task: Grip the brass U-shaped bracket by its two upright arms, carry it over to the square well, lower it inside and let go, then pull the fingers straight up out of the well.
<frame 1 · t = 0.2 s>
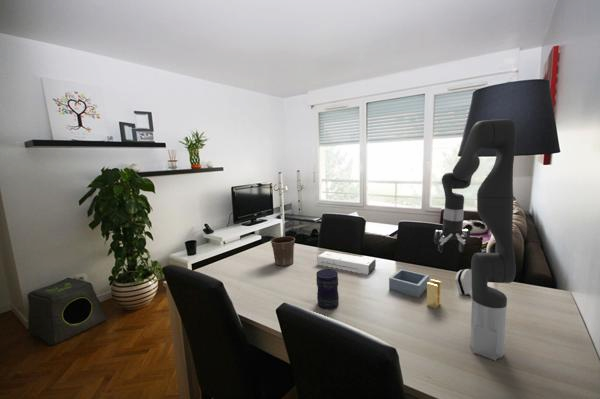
hand: (450, 251, 120), 22 cm above the table, tool pointing down, fingers open, 8 cm apart
laminator: (346, 267, 165), on the table
plant pot: (284, 263, 176), on the table
bracket: (433, 304, 117), on the table
storage jar: (328, 304, 122), on the table
well: (409, 288, 133), on the table
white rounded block: (466, 289, 130), on the table
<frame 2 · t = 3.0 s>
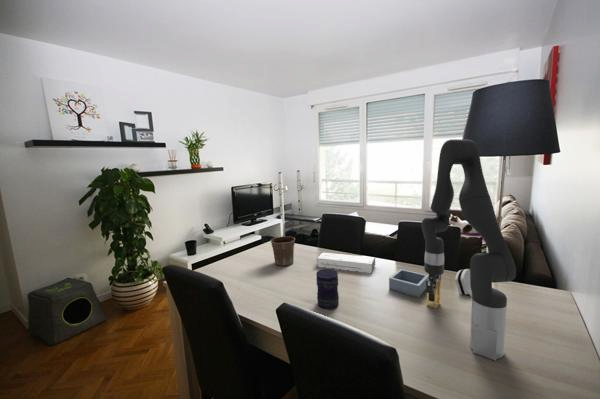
hand: (433, 298, 117), 3 cm above the table, tool pointing down, fingers closed on bracket, 5 cm apart
bracket: (433, 304, 117), on the table, touching gripper
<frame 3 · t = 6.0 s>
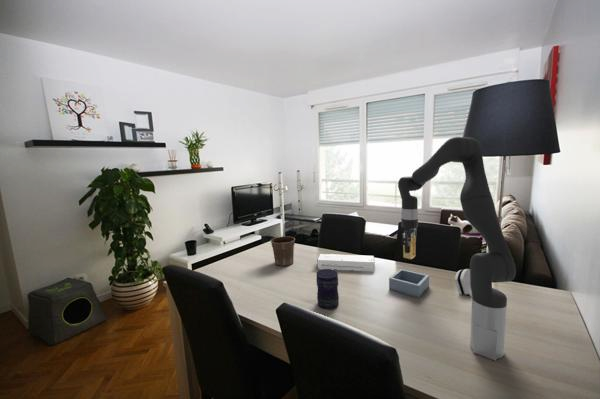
hand: (409, 251, 131), 19 cm above the table, tool pointing down, fingers closed on bracket, 5 cm apart
bracket: (409, 256, 131), point 16 cm above the table, touching gripper
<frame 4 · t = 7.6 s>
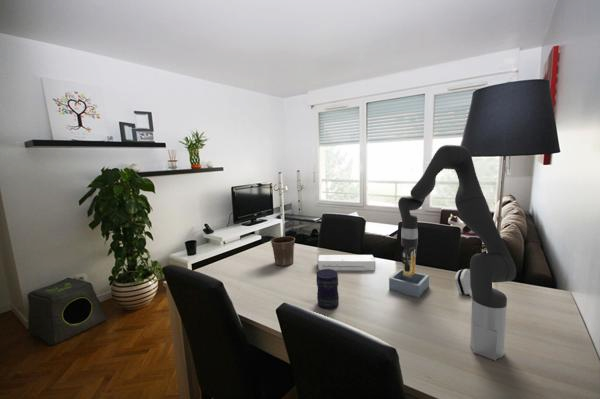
hand: (409, 269, 132), 10 cm above the table, tool pointing down, fingers closed on bracket, 5 cm apart
bracket: (409, 274, 132), point 7 cm above the table, touching gripper
when the fingers open (6 cm above the table, at t = 8.9 s): bracket drops 2 cm, resting on well.
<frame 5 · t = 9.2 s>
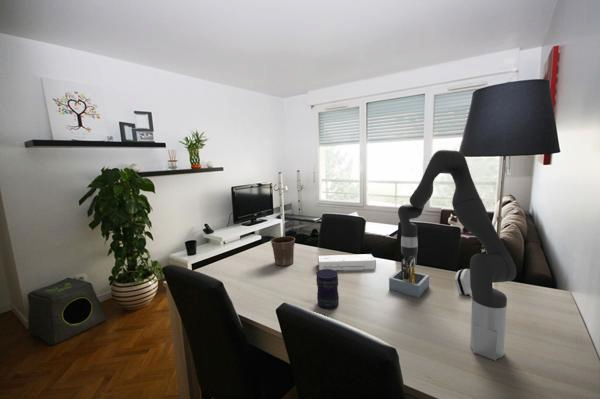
hand: (409, 276, 132), 6 cm above the table, tool pointing down, fingers open, 7 cm apart
bracket: (409, 286, 133), point 1 cm above the table, touching well
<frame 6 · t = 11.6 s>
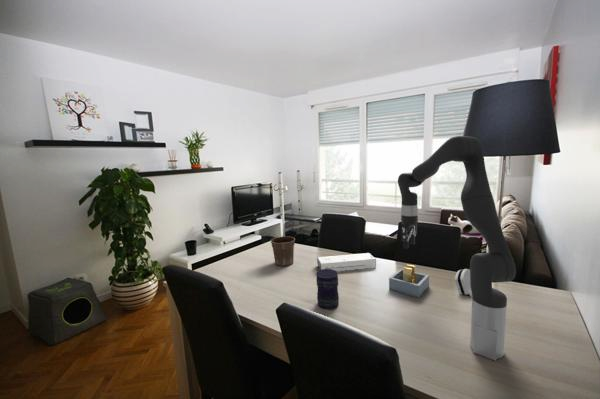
hand: (409, 246, 130), 22 cm above the table, tool pointing down, fingers open, 8 cm apart
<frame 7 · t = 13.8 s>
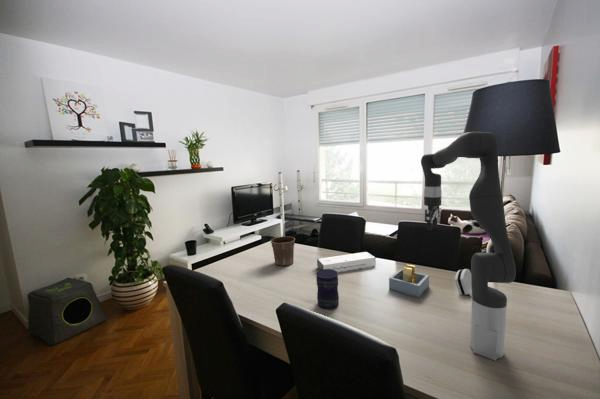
hand: (432, 228, 130), 30 cm above the table, tool pointing down, fingers open, 8 cm apart
at the end: bracket inside the target area on the well (0.1 cm from its centre), point 0.8 cm above the well's base; bracket tilted 0°; the gripper is holding nothing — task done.
